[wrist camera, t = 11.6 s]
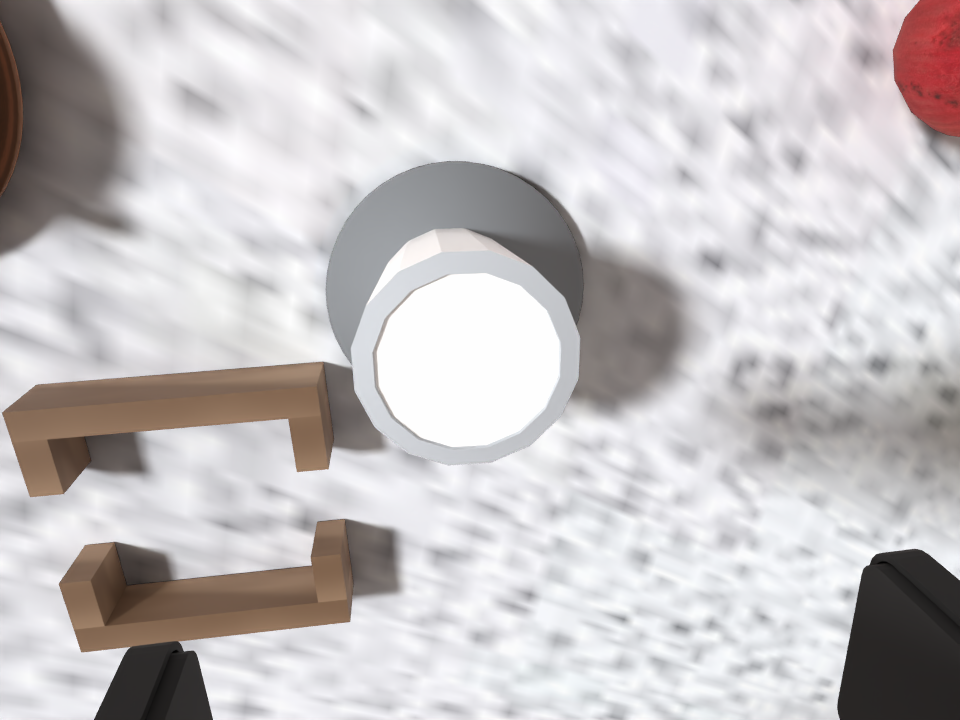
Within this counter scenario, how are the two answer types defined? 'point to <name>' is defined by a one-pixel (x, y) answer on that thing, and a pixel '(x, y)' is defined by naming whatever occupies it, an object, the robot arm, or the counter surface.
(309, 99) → the counter surface
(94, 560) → the pocket
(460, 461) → the white cylinder
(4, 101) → the cup and saucer
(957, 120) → the onion
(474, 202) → the coaster
